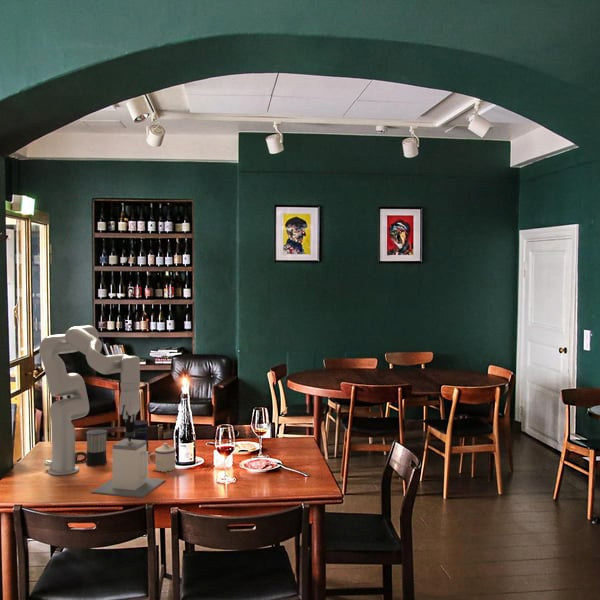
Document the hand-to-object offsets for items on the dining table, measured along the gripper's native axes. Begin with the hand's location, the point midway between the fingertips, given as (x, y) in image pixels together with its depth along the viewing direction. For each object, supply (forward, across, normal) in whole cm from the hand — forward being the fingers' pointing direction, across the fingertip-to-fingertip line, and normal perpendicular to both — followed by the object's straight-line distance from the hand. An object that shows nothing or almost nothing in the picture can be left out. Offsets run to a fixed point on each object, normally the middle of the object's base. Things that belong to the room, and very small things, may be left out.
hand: (130, 431), depth 267 cm
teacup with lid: (+23, -26, +3) cm, 35 cm away
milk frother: (+23, -27, -34) cm, 49 cm away
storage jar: (+23, -48, -19) cm, 57 cm away
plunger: (+18, 0, 0) cm, 18 cm away
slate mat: (+23, 0, 0) cm, 23 cm away
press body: (+22, 0, +1) cm, 22 cm away
